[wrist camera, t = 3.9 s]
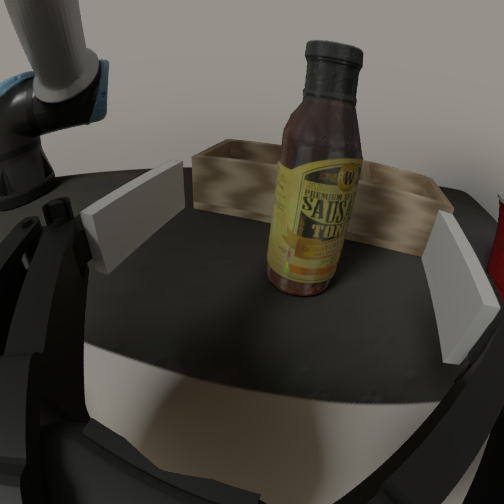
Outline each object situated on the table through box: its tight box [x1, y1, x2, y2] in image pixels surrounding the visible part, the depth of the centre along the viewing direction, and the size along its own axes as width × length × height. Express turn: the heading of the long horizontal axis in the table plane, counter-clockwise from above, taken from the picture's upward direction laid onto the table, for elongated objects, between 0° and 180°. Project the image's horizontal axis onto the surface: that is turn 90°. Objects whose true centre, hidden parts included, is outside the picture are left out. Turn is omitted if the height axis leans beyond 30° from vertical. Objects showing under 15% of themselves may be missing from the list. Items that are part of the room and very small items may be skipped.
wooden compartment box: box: [192, 139, 454, 257], centre depth 36 cm, size 31×11×7 cm, turn 72°
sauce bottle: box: [266, 40, 363, 296], centre depth 21 cm, size 6×6×20 cm
